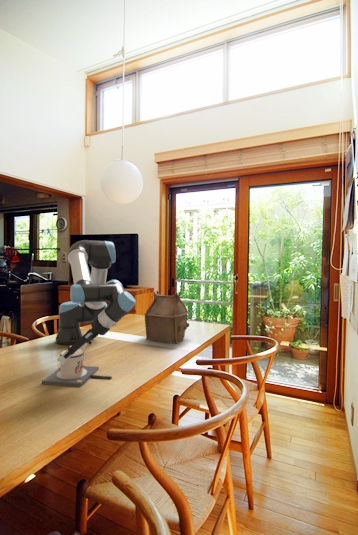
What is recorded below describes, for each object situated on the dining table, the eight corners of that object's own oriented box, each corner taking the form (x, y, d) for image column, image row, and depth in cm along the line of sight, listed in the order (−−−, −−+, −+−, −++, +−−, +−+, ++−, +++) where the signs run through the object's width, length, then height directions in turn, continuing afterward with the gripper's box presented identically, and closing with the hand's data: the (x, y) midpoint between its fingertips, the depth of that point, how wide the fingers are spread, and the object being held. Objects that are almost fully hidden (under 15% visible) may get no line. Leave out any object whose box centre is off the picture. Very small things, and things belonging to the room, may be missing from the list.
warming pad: (41, 383, 116) (41, 380, 116) (64, 367, 134) (64, 364, 133) (104, 388, 113) (104, 384, 113) (118, 370, 131) (118, 367, 131)
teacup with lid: (78, 379, 118) (79, 349, 117) (56, 378, 118) (56, 349, 117) (88, 368, 130) (89, 341, 129) (67, 367, 130) (68, 340, 129)
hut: (179, 346, 170) (180, 294, 169) (137, 340, 180) (138, 291, 179) (192, 337, 191) (193, 290, 190) (154, 332, 201) (155, 288, 200)
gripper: (98, 337, 109) (59, 374, 111) (119, 322, 134) (86, 353, 136) (85, 321, 109) (45, 359, 111) (108, 310, 134) (75, 341, 136)
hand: (68, 356), depth 124 cm, fingers open, 13 cm apart
